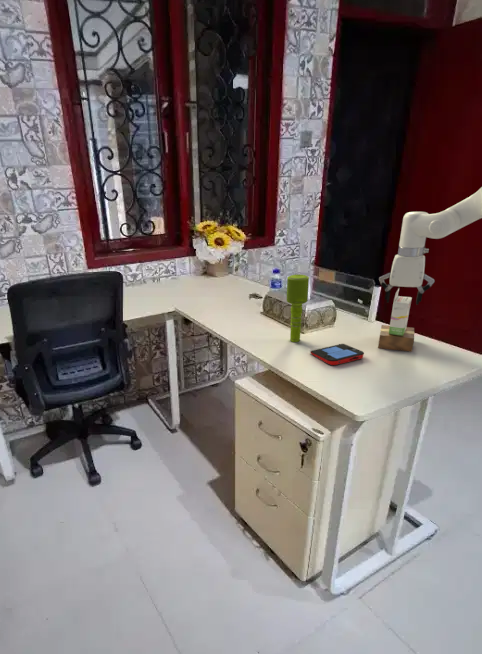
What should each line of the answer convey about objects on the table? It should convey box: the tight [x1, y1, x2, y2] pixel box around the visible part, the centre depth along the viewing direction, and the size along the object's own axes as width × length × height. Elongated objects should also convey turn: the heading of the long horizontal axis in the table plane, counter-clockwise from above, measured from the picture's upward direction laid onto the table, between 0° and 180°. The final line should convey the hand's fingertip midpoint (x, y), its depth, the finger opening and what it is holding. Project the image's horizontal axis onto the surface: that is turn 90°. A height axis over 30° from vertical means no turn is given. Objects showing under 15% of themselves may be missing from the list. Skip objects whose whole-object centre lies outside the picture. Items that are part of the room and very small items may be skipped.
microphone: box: [286, 274, 310, 343], centre depth 154 cm, size 8×8×25 cm
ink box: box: [389, 288, 413, 336], centre depth 146 cm, size 9×5×15 cm, turn 148°
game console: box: [309, 343, 365, 366], centre depth 144 cm, size 14×13×2 cm
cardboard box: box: [377, 324, 415, 353], centre depth 150 cm, size 11×11×5 cm
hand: (402, 302), depth 144 cm, fingers open, 9 cm apart
